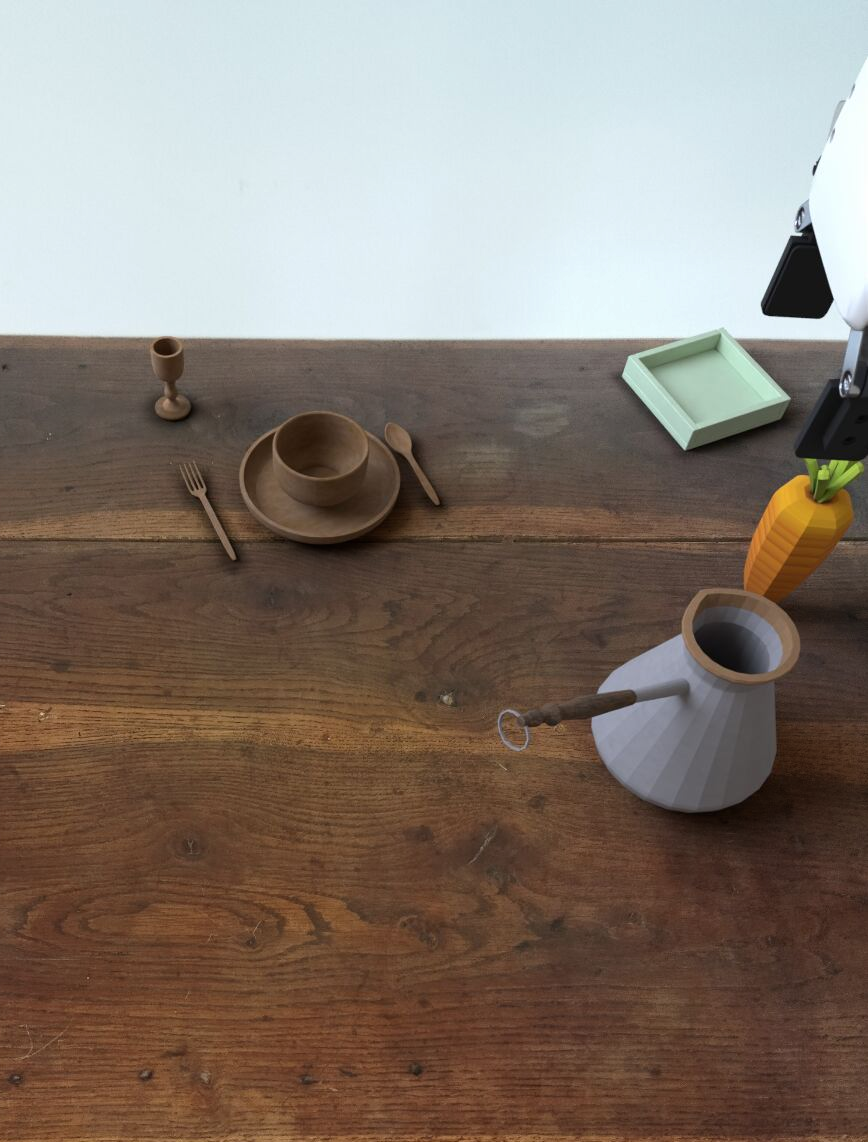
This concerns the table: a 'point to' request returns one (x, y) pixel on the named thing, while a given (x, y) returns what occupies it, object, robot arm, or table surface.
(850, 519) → the carrot
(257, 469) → the place setting
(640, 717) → the coffee pot
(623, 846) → the table surface
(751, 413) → the serving dish
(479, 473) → the table surface
